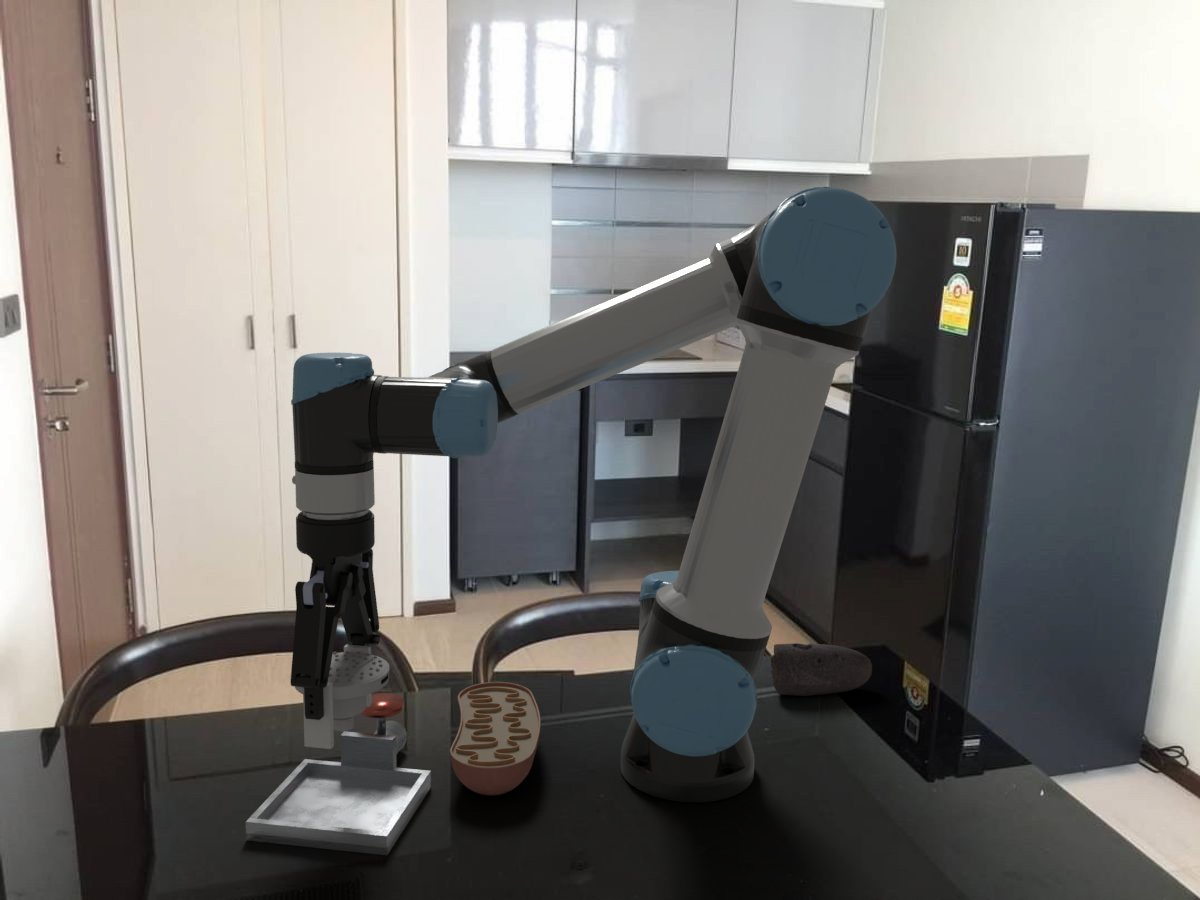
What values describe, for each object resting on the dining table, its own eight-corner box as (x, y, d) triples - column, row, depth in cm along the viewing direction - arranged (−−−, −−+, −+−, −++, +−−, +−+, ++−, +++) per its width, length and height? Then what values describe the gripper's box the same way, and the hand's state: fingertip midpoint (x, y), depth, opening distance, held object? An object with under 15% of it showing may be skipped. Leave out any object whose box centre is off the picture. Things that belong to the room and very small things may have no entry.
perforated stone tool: (863, 682, 145) (866, 635, 144) (879, 698, 140) (882, 648, 139) (759, 687, 143) (761, 639, 142) (771, 703, 138) (773, 653, 137)
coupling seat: (387, 855, 100) (385, 784, 99) (246, 840, 103) (243, 770, 101) (452, 754, 121) (451, 694, 120) (334, 744, 124) (332, 685, 122)
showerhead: (314, 639, 111) (403, 647, 109) (316, 703, 112) (403, 713, 110) (270, 671, 102) (365, 681, 100) (272, 741, 103) (367, 752, 101)
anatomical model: (459, 719, 131) (459, 681, 131) (538, 718, 132) (538, 680, 131) (447, 812, 109) (447, 768, 108) (542, 810, 110) (542, 766, 109)
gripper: (343, 486, 114) (346, 680, 118) (245, 535, 92) (253, 771, 96) (408, 489, 113) (410, 685, 117) (325, 541, 91) (330, 778, 95)
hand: (339, 724), depth 106 cm, fingers closed on showerhead, 9 cm apart
